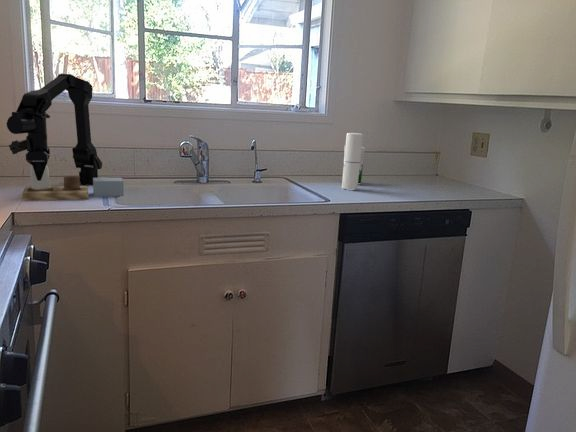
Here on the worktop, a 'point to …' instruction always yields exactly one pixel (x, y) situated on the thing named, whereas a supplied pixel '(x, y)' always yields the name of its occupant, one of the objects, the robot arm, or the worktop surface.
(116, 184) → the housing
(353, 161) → the cylindrical container
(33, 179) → the eye dropper bottle
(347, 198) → the worktop surface
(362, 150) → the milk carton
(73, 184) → the walnut peg
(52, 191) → the socket board
